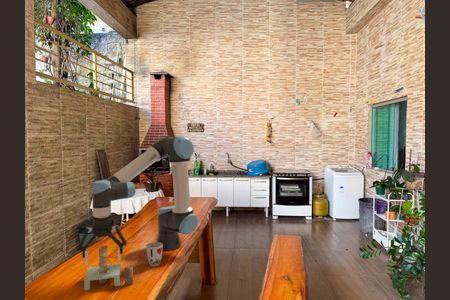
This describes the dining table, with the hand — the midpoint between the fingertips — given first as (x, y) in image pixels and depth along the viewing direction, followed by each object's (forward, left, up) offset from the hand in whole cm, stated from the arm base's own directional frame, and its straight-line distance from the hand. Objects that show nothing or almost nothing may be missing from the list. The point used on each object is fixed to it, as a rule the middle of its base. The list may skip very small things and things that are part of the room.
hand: (103, 262), depth 137 cm
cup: (-23, -13, -9) cm, 28 cm away
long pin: (0, 0, -9) cm, 9 cm away
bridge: (0, 0, -9) cm, 9 cm away
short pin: (-11, +5, -9) cm, 15 cm away
